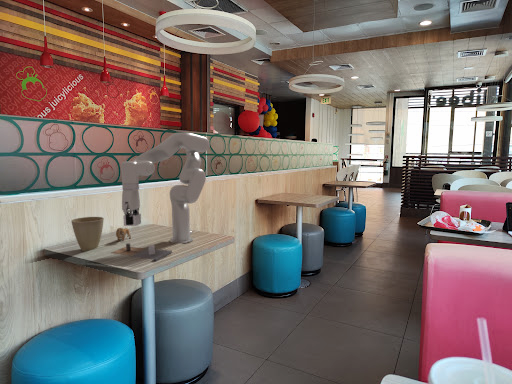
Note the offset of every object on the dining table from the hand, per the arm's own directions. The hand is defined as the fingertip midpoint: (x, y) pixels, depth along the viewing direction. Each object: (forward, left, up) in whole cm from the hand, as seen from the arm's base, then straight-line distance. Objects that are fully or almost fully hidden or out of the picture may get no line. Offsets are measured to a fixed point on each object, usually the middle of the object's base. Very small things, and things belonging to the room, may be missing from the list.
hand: (132, 222), depth 170 cm
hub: (+1, +11, -15) cm, 19 cm away
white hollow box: (0, 0, -1) cm, 1 cm away
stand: (0, -3, -15) cm, 16 cm away
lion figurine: (-18, -20, -16) cm, 31 cm away
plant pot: (+1, -26, -16) cm, 30 cm away
